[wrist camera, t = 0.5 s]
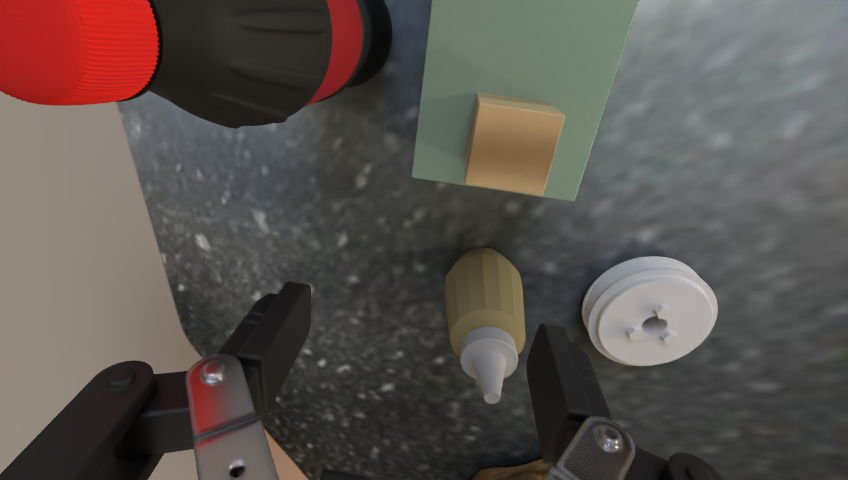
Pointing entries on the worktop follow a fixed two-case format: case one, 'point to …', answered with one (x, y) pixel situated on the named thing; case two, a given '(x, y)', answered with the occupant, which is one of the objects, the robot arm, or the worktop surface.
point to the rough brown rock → (515, 472)
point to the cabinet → (518, 76)
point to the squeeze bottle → (485, 317)
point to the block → (511, 143)
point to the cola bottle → (192, 53)
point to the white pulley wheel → (648, 311)
